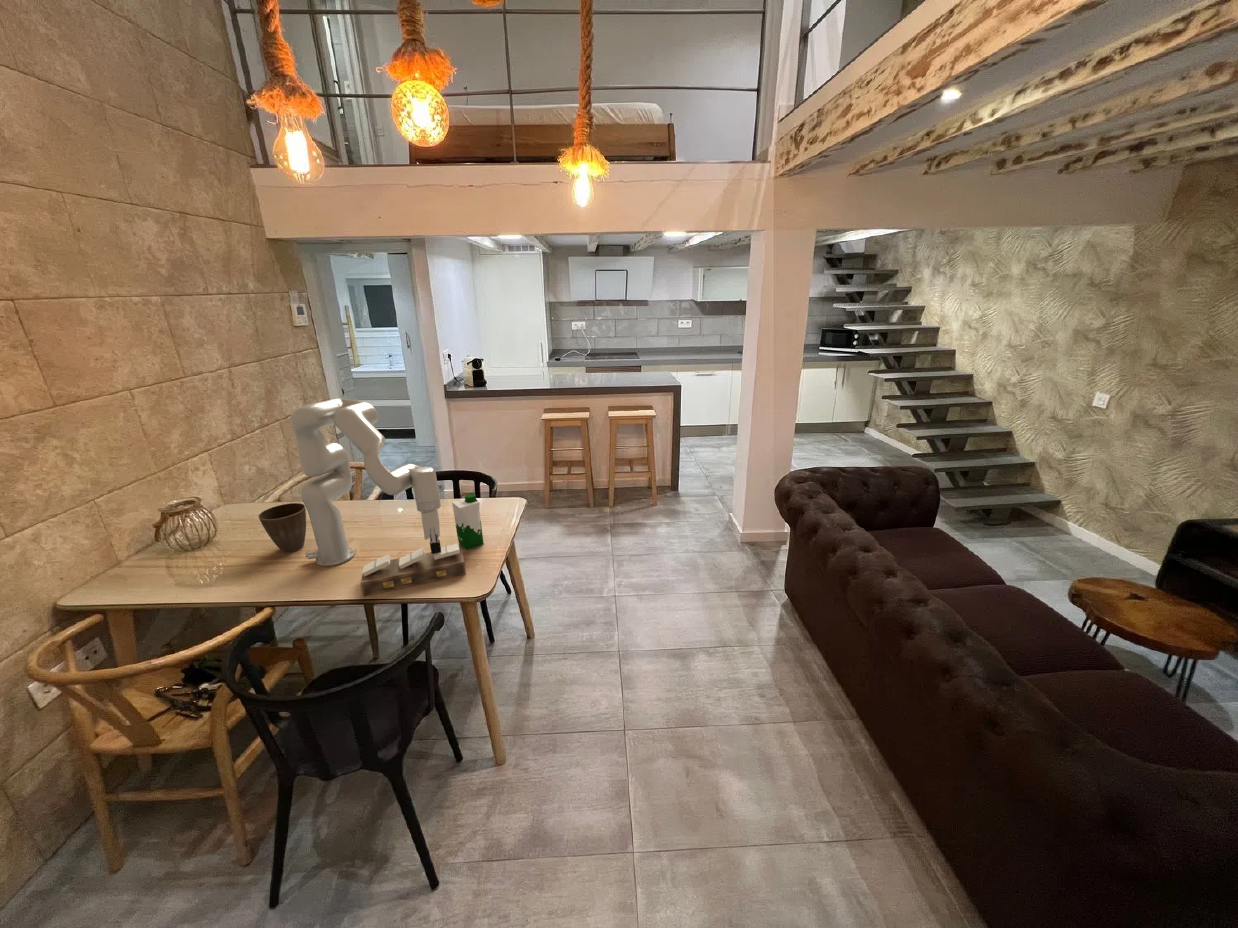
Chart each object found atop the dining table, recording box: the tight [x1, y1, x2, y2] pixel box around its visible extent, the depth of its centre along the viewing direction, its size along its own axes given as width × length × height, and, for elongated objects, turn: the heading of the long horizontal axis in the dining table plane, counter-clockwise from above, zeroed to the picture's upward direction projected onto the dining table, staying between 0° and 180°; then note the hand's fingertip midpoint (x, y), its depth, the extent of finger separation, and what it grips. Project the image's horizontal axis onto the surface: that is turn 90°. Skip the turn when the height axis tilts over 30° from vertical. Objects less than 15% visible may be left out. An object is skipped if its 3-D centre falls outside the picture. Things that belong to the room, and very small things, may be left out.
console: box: [360, 545, 467, 597], centre depth 166 cm, size 32×12×6 cm, turn 112°
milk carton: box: [451, 493, 485, 551], centre depth 185 cm, size 9×9×20 cm
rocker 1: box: [362, 553, 391, 576], centre depth 161 cm, size 8×5×2 cm, turn 112°
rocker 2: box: [399, 547, 426, 569], centre depth 165 cm, size 8×5×2 cm, turn 112°
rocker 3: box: [434, 542, 460, 560], centre depth 169 cm, size 8×5×2 cm, turn 112°
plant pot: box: [257, 502, 307, 554], centre depth 186 cm, size 15×15×16 cm
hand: (436, 551), depth 167 cm, fingers closed
